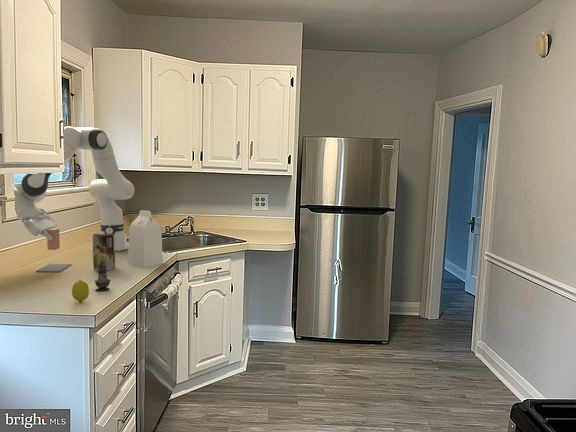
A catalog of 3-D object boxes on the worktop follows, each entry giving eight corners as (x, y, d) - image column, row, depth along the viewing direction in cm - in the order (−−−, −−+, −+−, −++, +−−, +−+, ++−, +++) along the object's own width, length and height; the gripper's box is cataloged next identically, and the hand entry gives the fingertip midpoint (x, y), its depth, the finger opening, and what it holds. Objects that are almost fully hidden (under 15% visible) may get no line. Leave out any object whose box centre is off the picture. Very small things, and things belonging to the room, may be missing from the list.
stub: (51, 247, 210) (51, 227, 209) (59, 248, 211) (59, 228, 210) (47, 249, 206) (47, 229, 205) (55, 249, 206) (55, 229, 205)
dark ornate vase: (91, 291, 176) (90, 260, 174) (100, 287, 182) (99, 257, 180) (105, 292, 175) (104, 261, 173) (113, 288, 181) (113, 258, 179)
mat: (49, 265, 216) (49, 263, 216) (71, 265, 217) (71, 264, 217) (36, 272, 202) (36, 270, 202) (60, 272, 203) (60, 270, 203)
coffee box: (115, 267, 216) (115, 233, 214) (114, 270, 210) (114, 235, 208) (94, 267, 214) (94, 233, 212) (92, 270, 207) (92, 235, 206)
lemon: (89, 299, 166) (88, 277, 165) (89, 303, 161) (88, 281, 160) (72, 300, 163) (71, 278, 163) (71, 305, 158) (71, 282, 158)
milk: (163, 263, 227) (163, 211, 224) (144, 267, 217) (144, 212, 214) (146, 260, 233) (146, 209, 230) (127, 263, 224) (127, 210, 221)
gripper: (26, 213, 195) (50, 236, 197) (45, 209, 216) (68, 230, 218) (15, 224, 195) (40, 247, 197) (36, 218, 216) (58, 239, 218)
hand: (54, 238), depth 208 cm, fingers closed on stub, 4 cm apart
